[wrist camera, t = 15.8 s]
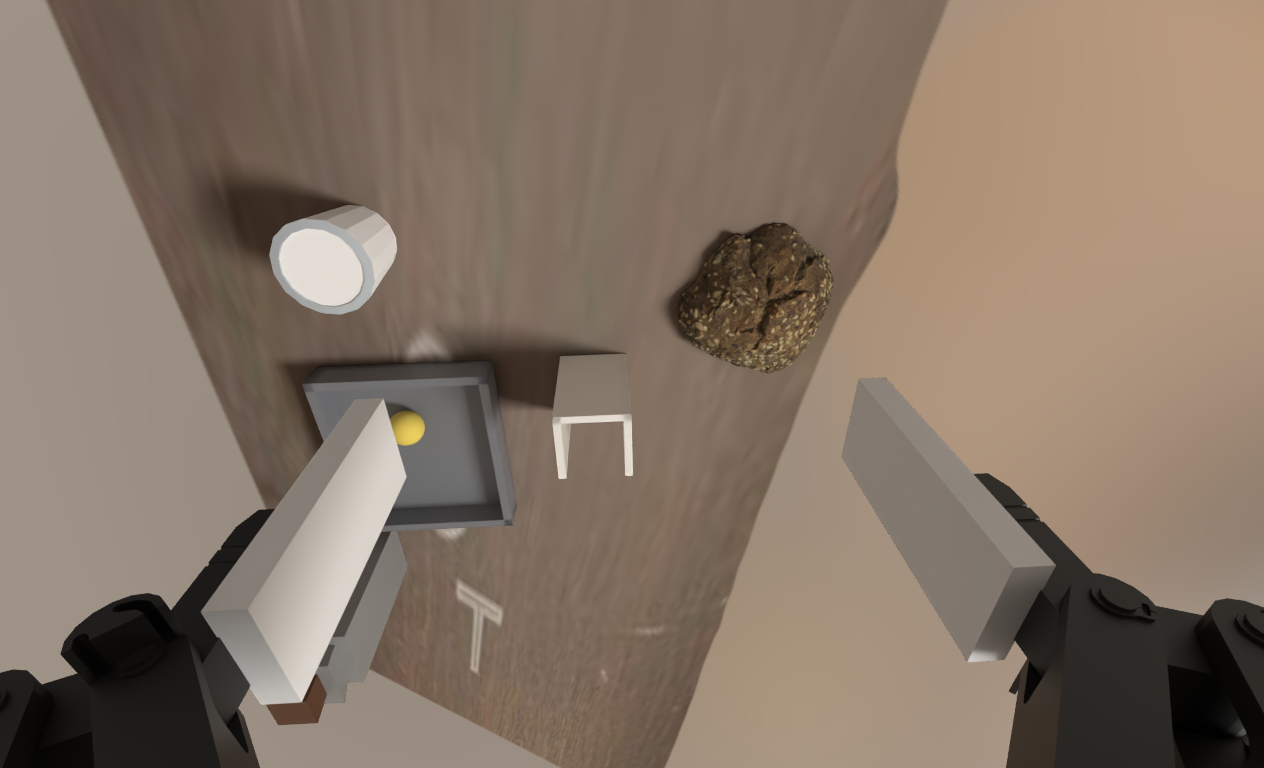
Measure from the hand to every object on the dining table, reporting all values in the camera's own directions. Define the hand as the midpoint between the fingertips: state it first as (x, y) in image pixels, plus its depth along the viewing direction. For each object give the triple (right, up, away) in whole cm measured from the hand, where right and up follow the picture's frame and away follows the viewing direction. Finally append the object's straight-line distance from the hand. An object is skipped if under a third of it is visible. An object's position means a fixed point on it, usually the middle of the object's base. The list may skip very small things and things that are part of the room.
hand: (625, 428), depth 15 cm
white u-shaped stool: (-3, +1, +36) cm, 36 cm away
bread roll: (+11, +9, +33) cm, 36 cm away
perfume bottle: (-29, -17, +45) cm, 56 cm away
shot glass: (-22, +13, +28) cm, 38 cm away
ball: (-21, -3, +35) cm, 40 cm away
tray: (-20, -4, +38) cm, 44 cm away
